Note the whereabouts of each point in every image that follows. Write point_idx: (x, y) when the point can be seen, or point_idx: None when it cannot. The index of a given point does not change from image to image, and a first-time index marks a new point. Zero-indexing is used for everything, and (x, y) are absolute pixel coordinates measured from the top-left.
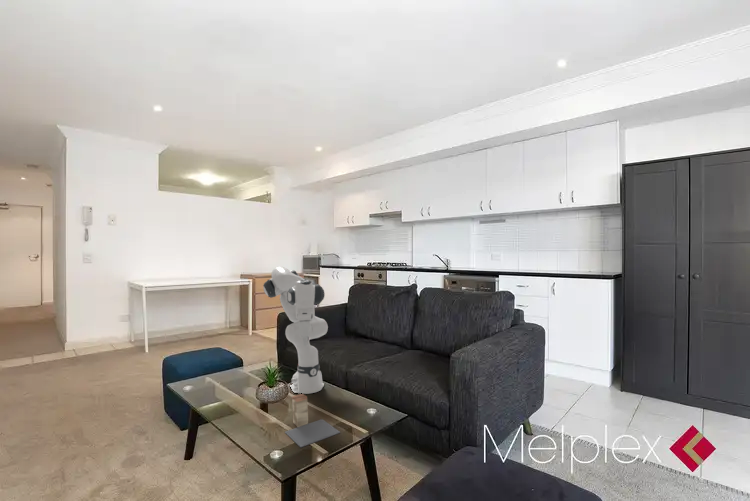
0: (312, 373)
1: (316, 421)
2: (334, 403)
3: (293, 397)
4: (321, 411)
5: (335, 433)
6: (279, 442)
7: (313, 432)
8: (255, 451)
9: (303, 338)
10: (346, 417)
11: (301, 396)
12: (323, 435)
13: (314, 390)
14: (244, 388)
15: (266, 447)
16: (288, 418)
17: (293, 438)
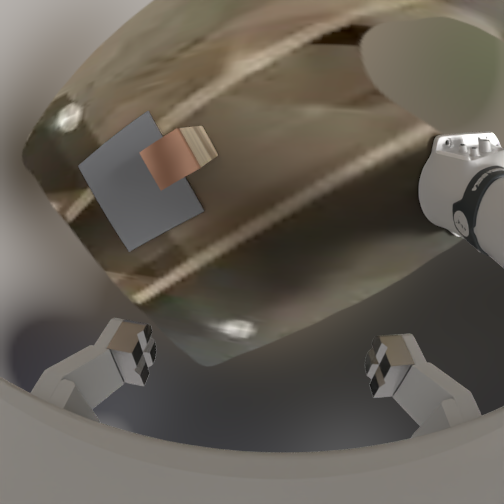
0: (457, 218)
1: (191, 195)
2: (316, 251)
3: (165, 135)
4: (268, 210)
5: (123, 241)
6: (107, 109)
7: (131, 189)
8: (84, 68)
9: (46, 376)
10: (210, 272)
11: (167, 167)
12: (115, 214)
13: (423, 202)
14: (491, 21)
15: (93, 85)
16: (243, 107)
17: (110, 142)
